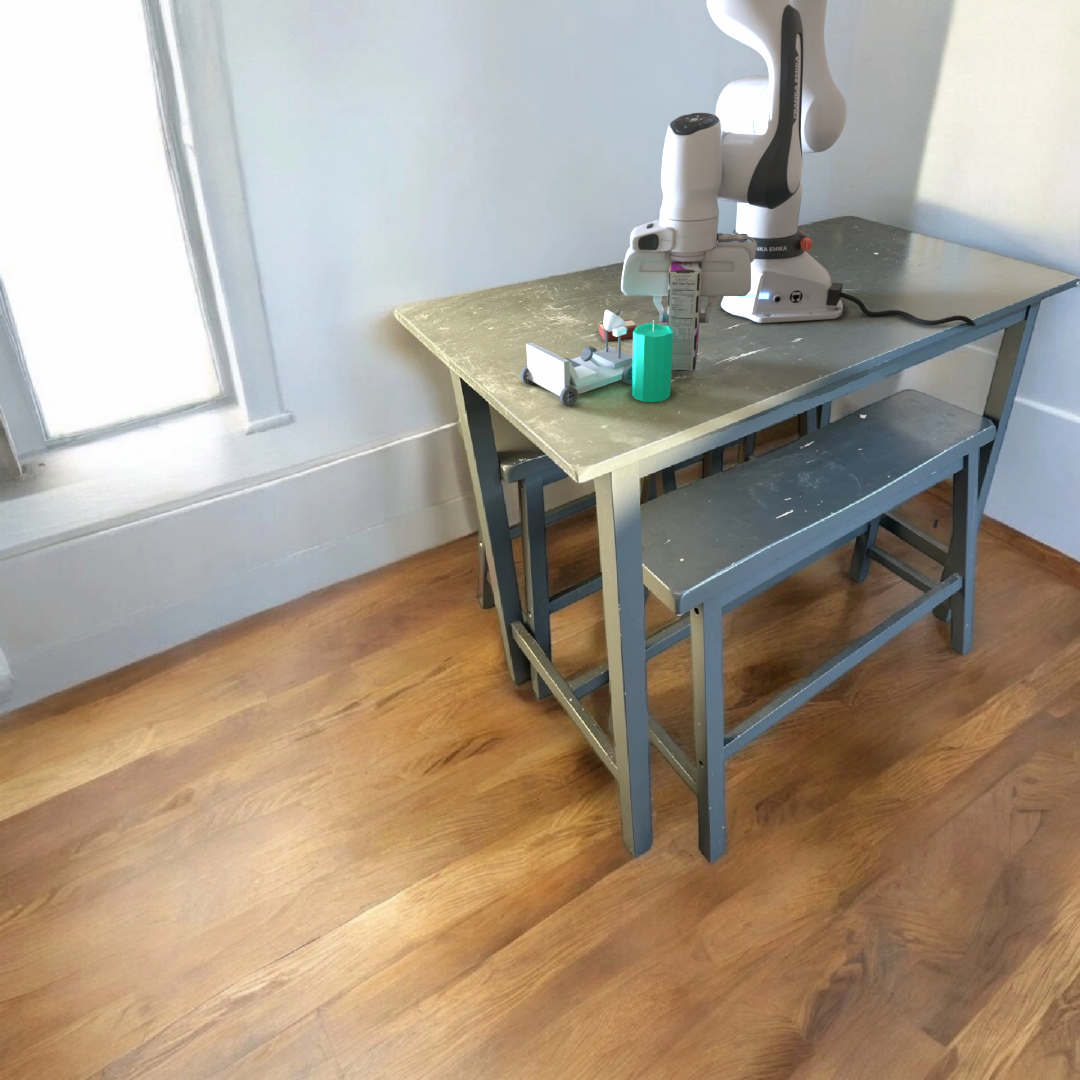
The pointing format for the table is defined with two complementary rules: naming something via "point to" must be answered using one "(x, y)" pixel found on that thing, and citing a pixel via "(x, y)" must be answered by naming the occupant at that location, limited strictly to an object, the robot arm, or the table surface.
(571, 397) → the toy car
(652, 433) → the table surface
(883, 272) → the table surface
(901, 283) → the table surface
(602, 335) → the matchbox
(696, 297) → the candy bar box
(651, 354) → the candle
